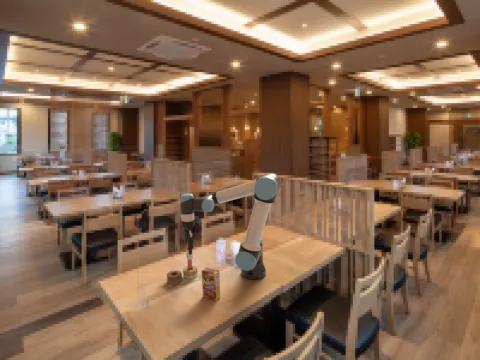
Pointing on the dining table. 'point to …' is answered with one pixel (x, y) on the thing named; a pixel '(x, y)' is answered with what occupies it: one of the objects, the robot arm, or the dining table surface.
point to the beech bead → (190, 273)
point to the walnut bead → (174, 277)
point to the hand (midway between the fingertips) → (189, 258)
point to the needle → (189, 261)
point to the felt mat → (186, 280)
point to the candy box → (211, 283)
